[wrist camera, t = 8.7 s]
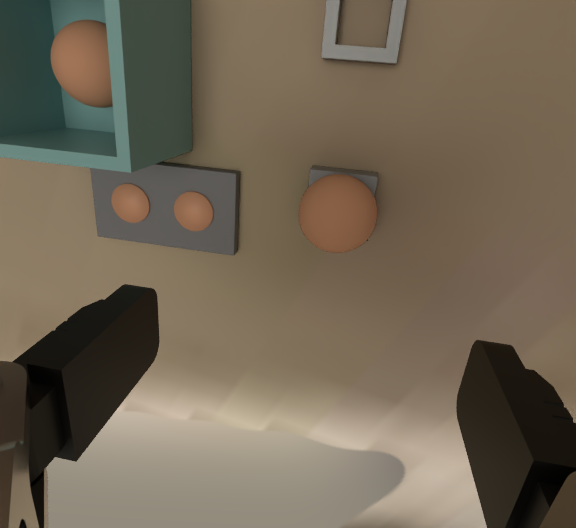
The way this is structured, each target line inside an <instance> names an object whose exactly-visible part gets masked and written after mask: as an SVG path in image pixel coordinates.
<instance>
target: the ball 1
mask: <svg viewBox="0 0 576 528" xmlns="http://www.w3.org/2000/svg"><path fill="white" fill-rule="evenodd" d="M51 65H52V69H53V72H54V74H55V77H56V79H57V80H58V82H59V84H60V85H61V87H62V88H63V89H64V90H65V91H66V92H67V93H68V94H69V95H70V96H71V97H73V98H74V99H76V100H77V101H79V102H81V103H83V104H85V105H88V106H92V107H97V108H107V107H112V106H113V102H112V90H111V77H110V65H109V53H108V41H107V29H106V24H105V23H103V22H100V21H96V20H78V21H74V22H72V23H70V24H68V25H66V26H65V27H63V28H62V29H61V30H60V31H59V32H58V34H57V35H56V37H55V39H54V41H53V44H52V47H51Z"/></svg>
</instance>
